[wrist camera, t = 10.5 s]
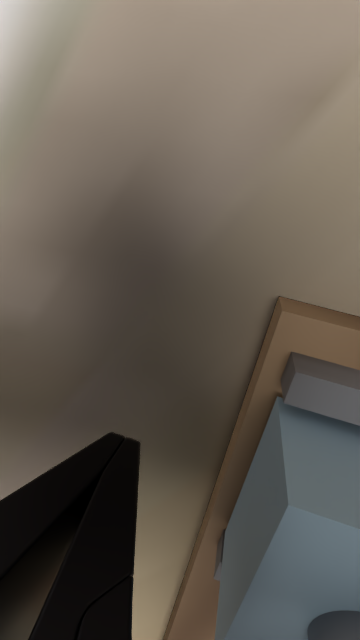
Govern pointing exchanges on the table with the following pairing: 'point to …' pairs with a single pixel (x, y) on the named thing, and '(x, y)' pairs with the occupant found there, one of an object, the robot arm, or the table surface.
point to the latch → (295, 534)
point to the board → (266, 384)
